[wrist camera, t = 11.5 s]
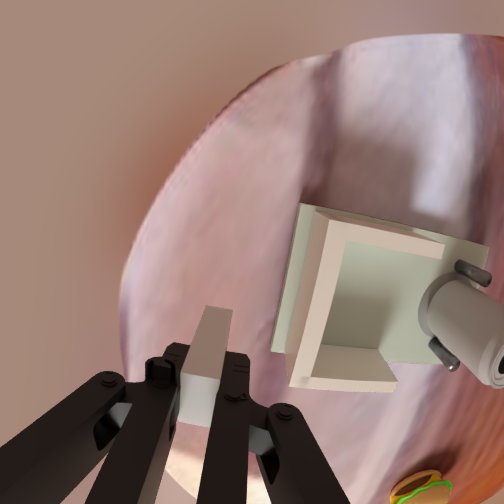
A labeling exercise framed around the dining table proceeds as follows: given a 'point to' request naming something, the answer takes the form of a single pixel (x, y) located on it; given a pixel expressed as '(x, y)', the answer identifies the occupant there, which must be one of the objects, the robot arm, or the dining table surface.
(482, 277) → the pins
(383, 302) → the board
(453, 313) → the beverage can
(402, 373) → the dining table surface
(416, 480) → the hamburger
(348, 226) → the housing
